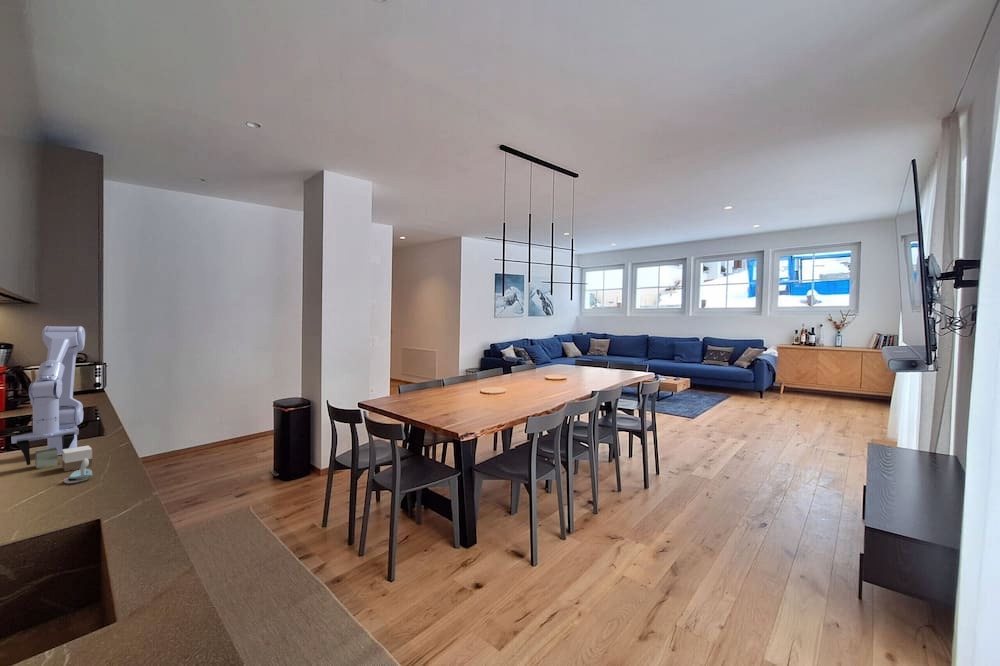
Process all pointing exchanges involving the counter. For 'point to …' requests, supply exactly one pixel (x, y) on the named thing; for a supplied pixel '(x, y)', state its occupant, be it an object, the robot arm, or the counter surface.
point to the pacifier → (80, 473)
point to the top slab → (76, 454)
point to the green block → (46, 457)
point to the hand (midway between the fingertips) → (46, 461)
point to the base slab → (74, 465)
